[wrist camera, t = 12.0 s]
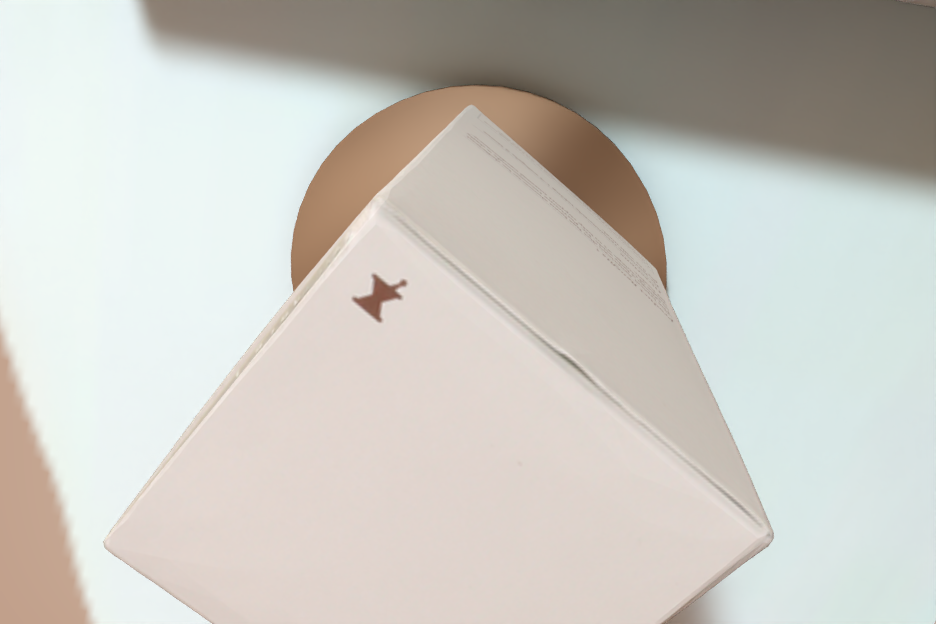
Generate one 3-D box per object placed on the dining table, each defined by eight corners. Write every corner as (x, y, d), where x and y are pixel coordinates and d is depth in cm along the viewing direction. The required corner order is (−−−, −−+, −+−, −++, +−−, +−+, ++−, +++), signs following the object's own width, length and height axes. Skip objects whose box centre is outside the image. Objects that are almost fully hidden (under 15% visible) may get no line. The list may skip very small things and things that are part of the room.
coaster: (739, 212, 23) (746, 218, 22) (537, 492, 26) (537, 506, 26) (403, 8, 22) (398, 7, 21) (242, 328, 25) (232, 337, 25)
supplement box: (310, 287, 24) (73, 541, 12) (473, 96, 22) (379, 177, 10) (494, 440, 25) (443, 812, 13) (667, 274, 23) (796, 542, 11)
